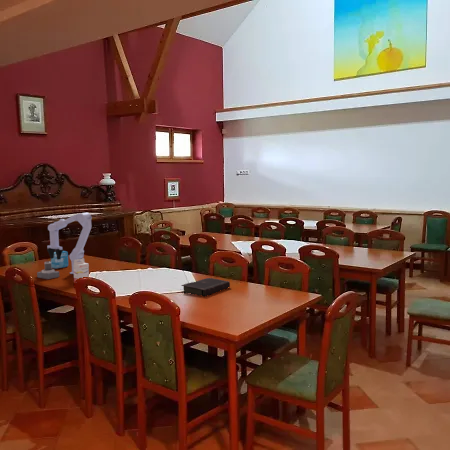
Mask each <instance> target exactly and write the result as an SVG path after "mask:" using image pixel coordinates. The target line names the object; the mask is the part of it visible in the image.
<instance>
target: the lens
mask: <svg viewBox="0 0 450 450" xmlns="http://www.w3.org/2000/svg"><path fill="white" fill-rule="evenodd" d="M44 269H45V271H50V270H52V269H53V268H52V266H51V260H47V261H44Z"/></svg>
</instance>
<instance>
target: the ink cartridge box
mask: <svg viewBox="0 0 450 450" xmlns="http://www.w3.org/2000/svg"><path fill="white" fill-rule="evenodd" d="M79 260H80V261H81V262H77V261H79ZM89 268H90V265H89V263H88V262H85V258H84V257H83V258H82V259H77V260H74V274H73V282H74V283H76V282H75V281H76V280H77V279H79V278H83V277H89V278H90V271H89V270H90V269H89Z"/></svg>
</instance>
